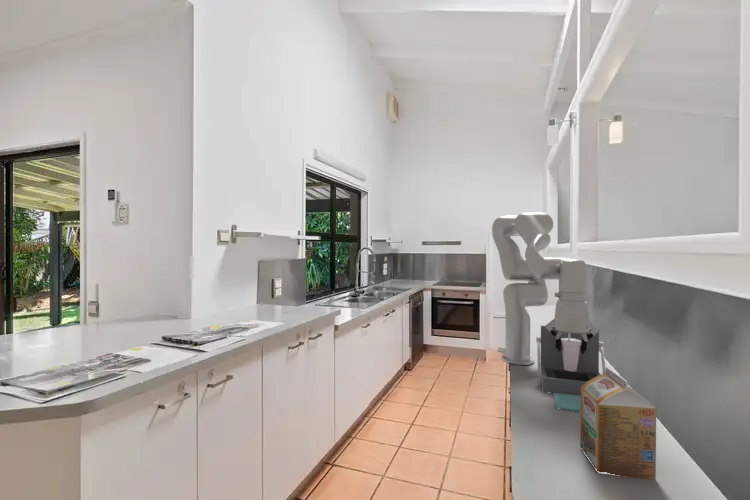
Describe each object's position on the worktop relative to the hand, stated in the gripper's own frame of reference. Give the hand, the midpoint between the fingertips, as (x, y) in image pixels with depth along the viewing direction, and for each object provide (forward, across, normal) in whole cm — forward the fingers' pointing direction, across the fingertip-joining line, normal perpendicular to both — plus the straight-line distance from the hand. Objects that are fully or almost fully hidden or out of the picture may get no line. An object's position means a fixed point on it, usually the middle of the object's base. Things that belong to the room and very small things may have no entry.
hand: (570, 351), depth 131 cm
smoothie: (+6, 0, 0) cm, 6 cm away
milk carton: (+11, +3, -48) cm, 49 cm away
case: (+12, 0, -1) cm, 12 cm away
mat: (+12, 0, -15) cm, 19 cm away
